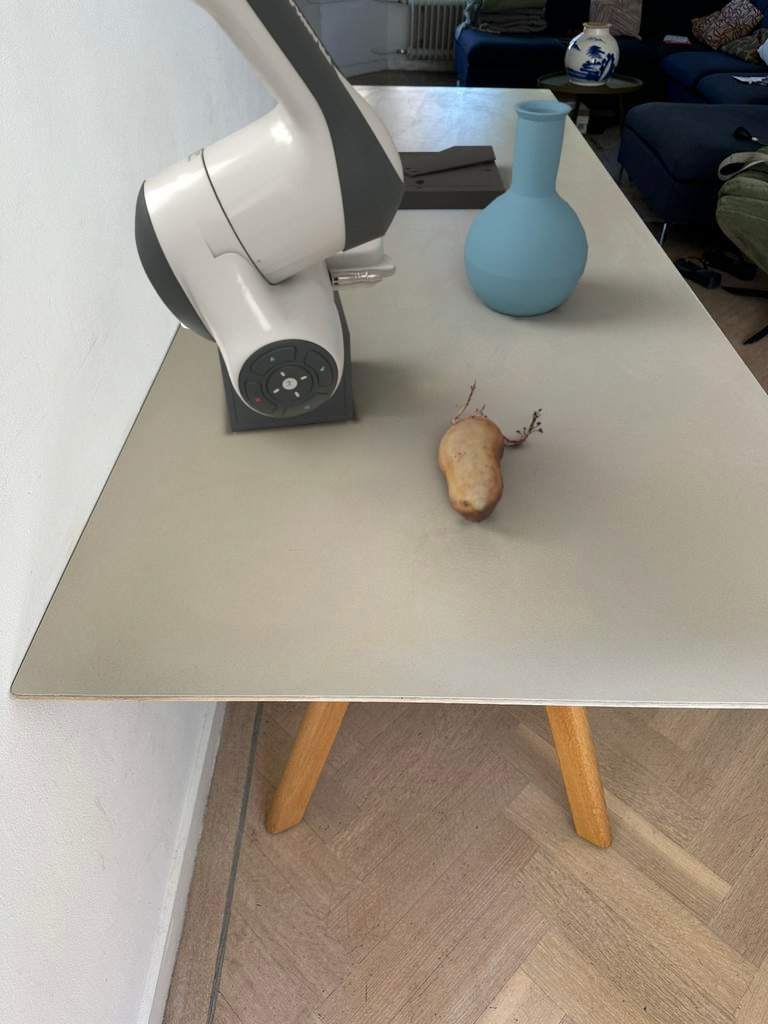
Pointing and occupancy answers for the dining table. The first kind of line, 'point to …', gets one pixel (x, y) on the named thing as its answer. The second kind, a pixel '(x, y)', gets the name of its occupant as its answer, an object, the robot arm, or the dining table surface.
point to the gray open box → (330, 411)
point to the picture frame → (450, 178)
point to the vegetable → (475, 462)
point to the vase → (529, 224)
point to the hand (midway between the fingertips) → (270, 226)
